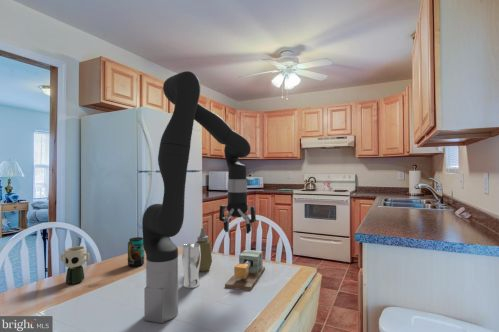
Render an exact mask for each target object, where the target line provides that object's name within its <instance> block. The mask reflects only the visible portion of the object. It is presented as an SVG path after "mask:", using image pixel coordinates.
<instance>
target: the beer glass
mask: <svg viewBox="0 0 499 332" xmlns="http://www.w3.org/2000/svg"><path fill="white" fill-rule="evenodd" d="M200 260H201V251H200V244H198V243H196V242H189V243H185V244H183V245H182V250H181V263H182V267H183V274H184V275H183V276H184V278H183V284H182V285H183V287H184V288H186V289H195V288H198V287H199V286H200V278H199V277H200V276H199V273H200V271H199V267H200Z"/></svg>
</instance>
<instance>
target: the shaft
mask: <svg viewBox="0 0 499 332" xmlns="http://www.w3.org/2000/svg"><path fill="white" fill-rule="evenodd" d="M252 263H253V260H247V261H246V262H245V263H244V264H239V262H238V263H236V265H235V266H234V268H233V270H234V271H233V275H234V278H243V279H246V278H247V276H248V275H249V267H250V265H251V264H252Z"/></svg>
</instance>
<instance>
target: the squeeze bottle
mask: <svg viewBox="0 0 499 332" xmlns="http://www.w3.org/2000/svg"><path fill="white" fill-rule="evenodd" d="M195 243H198V244H200V251H201V260H200V267H199V272H208V271H210V269H211V266H212V263H213V257H212V247H211V241H209V236H208V235H206V231H205V228H204V227H201V228H200V234H199V235H198V236H197V240H196V241H195Z"/></svg>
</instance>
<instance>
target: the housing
mask: <svg viewBox="0 0 499 332" xmlns="http://www.w3.org/2000/svg"><path fill="white" fill-rule="evenodd" d="M263 259H264V258H263V251H262V250H253V249H252V250H250V249H244V250H243V251H242V252H241V253H240V254H238V263H239V264H244V263H245V262H246V261H247V260H253V263H252V264H251V265H250V267H249V275H248V276H247V278H246V279H243V278H234V274H233V275H232V276H231V277H230V278H229V279H228V280H227V281H225V283H224V287H225V288H228V289H233V290H234V289H236V290H244V291H252V290H253V289H254V287H255V285H256V284H257V282H258V281H259V280H260V277H262V275H263V273H264V272H265V270H266V266H264V265H263Z"/></svg>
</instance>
